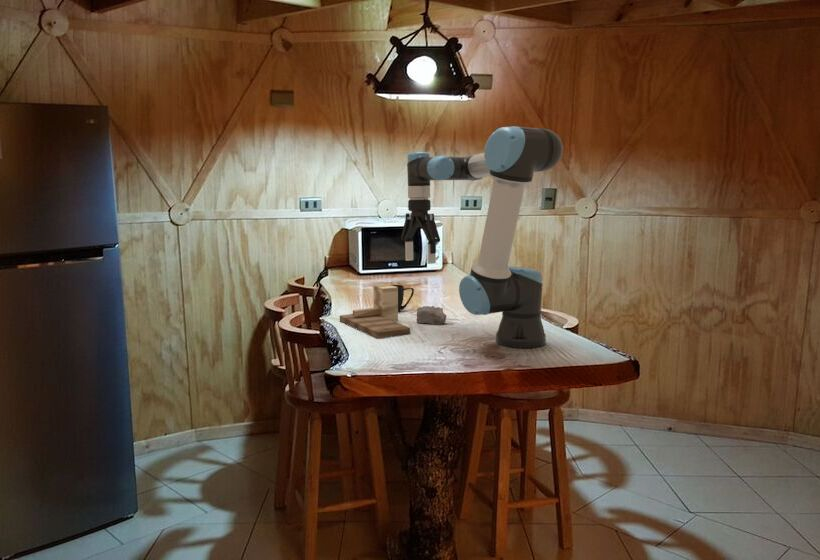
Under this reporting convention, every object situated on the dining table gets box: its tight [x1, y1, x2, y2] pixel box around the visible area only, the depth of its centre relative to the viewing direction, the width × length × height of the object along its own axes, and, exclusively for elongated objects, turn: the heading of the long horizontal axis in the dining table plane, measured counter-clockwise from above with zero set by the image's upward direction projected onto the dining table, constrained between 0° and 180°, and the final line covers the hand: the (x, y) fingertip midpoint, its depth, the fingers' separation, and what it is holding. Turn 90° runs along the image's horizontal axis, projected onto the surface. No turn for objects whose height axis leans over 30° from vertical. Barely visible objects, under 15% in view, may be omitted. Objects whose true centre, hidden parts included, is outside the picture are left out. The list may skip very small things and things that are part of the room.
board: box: [339, 313, 411, 339], centre depth 210 cm, size 28×12×2 cm, turn 31°
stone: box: [416, 305, 447, 325], centre depth 217 cm, size 10×8×6 cm
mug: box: [391, 284, 415, 313], centre depth 235 cm, size 8×12×10 cm
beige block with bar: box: [352, 284, 399, 322], centre depth 218 cm, size 7×16×12 cm, turn 121°
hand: (420, 262), depth 212 cm, fingers open, 13 cm apart
